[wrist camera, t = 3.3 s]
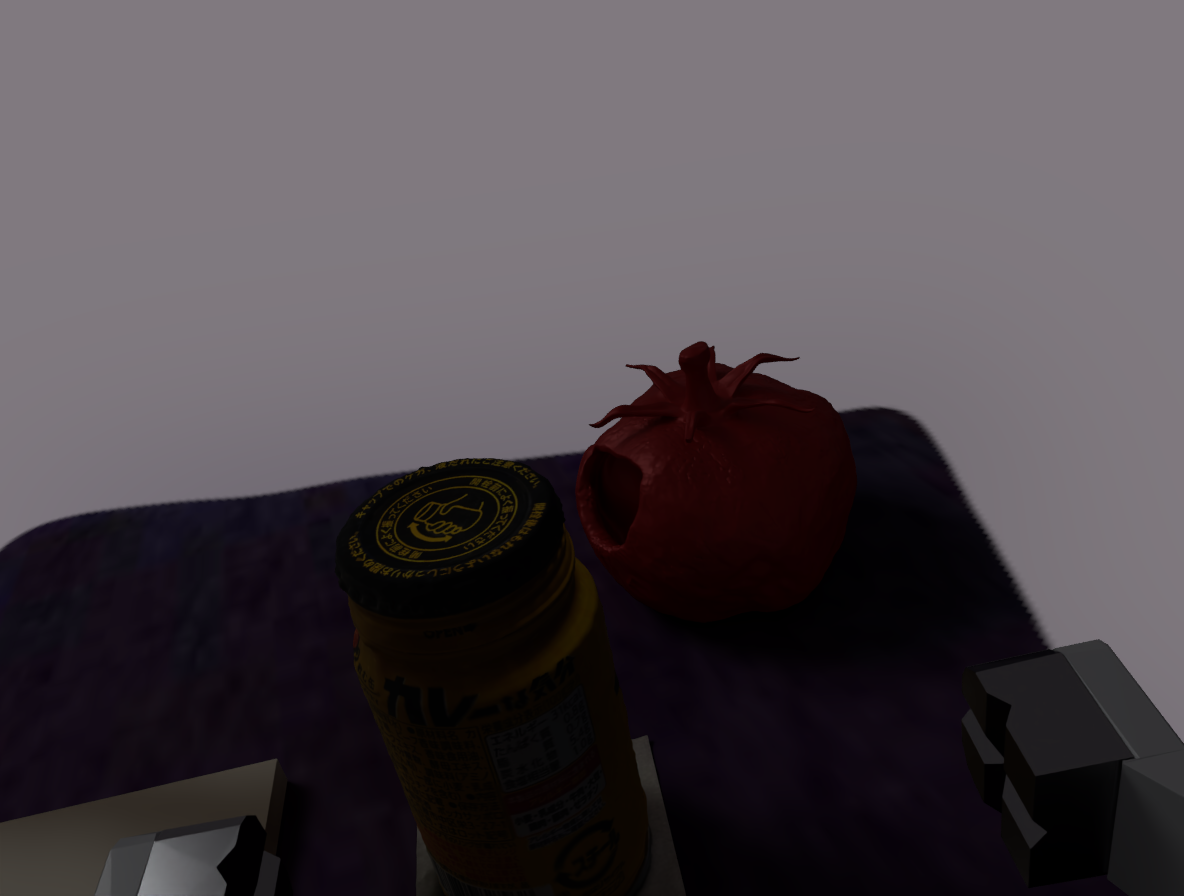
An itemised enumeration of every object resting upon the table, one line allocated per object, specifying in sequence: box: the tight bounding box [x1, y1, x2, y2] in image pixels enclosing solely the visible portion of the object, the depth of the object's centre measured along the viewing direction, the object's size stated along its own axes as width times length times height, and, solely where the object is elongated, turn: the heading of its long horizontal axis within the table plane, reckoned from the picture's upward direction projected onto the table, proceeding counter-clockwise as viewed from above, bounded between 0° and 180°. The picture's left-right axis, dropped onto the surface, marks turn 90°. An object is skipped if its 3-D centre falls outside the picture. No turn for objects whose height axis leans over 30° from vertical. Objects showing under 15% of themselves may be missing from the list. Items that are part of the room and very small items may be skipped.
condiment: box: [335, 458, 686, 896], centre depth 26 cm, size 7×8×12 cm
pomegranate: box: [576, 341, 857, 623], centre depth 37 cm, size 10×10×9 cm
